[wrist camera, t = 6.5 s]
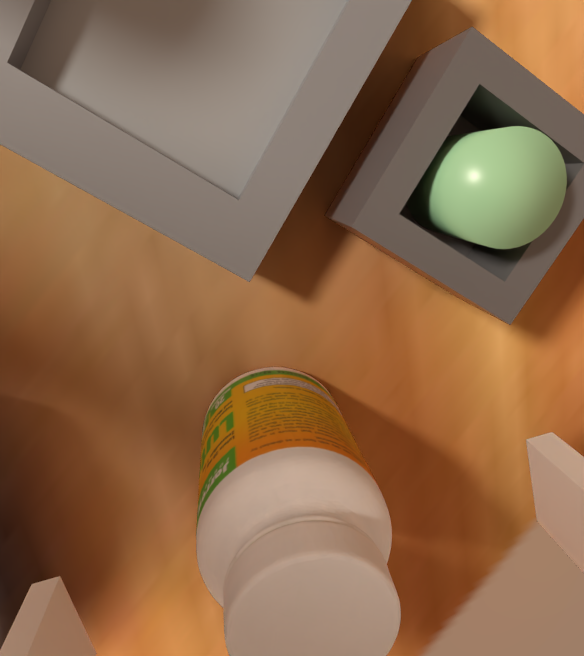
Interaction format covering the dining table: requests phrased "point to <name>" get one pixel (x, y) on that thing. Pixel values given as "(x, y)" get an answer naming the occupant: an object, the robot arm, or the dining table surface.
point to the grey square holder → (421, 147)
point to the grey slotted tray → (188, 105)
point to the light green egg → (492, 187)
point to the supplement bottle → (292, 523)
